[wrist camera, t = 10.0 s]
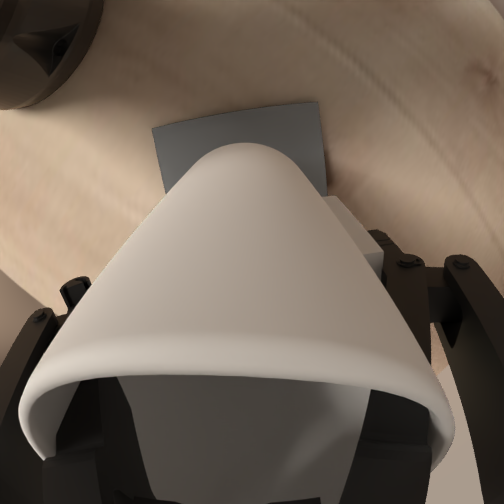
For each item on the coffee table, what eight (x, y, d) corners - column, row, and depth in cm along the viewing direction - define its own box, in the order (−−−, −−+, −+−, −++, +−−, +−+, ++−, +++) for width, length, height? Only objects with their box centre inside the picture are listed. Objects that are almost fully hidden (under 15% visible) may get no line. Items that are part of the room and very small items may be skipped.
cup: (314, 141, 17) (542, 314, 2) (310, 268, 20) (379, 519, 6) (171, 147, 17) (-62, 322, 3) (185, 272, 21) (114, 519, 6)
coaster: (153, 128, 21) (151, 128, 21) (316, 102, 20) (317, 101, 20) (187, 269, 26) (186, 273, 26) (329, 250, 26) (330, 253, 25)
